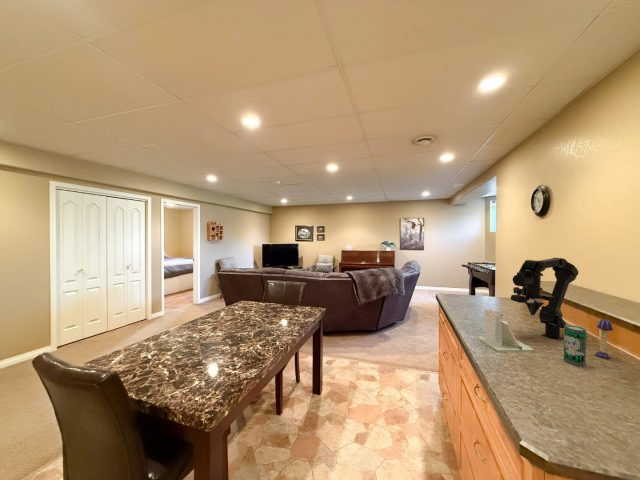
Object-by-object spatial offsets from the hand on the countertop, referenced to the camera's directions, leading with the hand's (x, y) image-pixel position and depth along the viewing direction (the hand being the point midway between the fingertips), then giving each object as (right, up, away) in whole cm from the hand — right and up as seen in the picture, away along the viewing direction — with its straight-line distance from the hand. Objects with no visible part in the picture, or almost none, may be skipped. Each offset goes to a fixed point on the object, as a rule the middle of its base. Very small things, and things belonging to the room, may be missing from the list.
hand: (532, 315), depth 126 cm
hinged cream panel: (-15, -11, -4) cm, 19 cm away
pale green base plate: (-18, -13, -4) cm, 23 cm away
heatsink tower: (-23, -12, -4) cm, 26 cm away
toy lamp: (+17, -14, -17) cm, 28 cm away
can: (0, -14, -21) cm, 25 cm away
